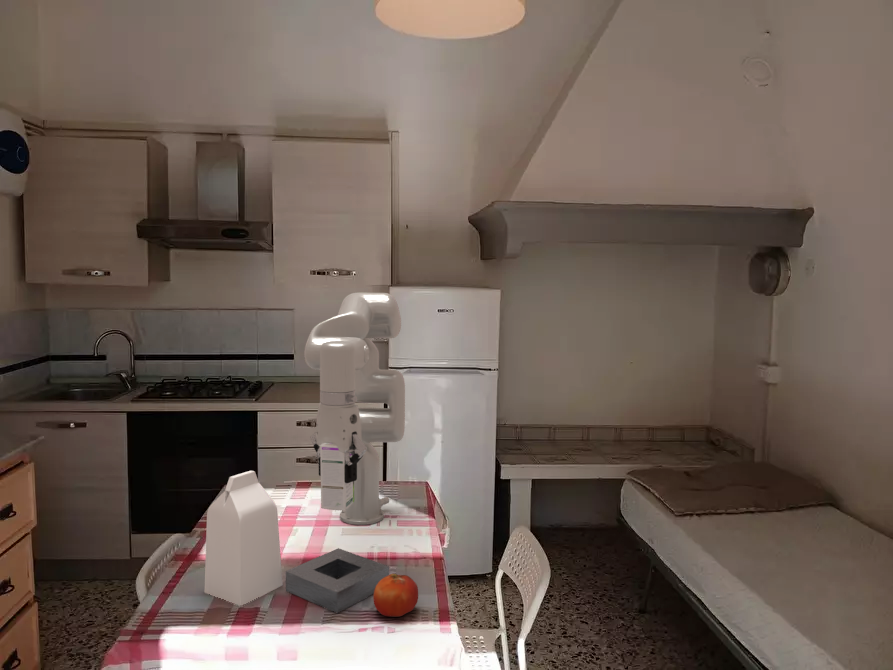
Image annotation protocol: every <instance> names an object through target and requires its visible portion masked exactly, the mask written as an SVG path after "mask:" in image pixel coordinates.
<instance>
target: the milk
mask: <svg viewBox="0 0 893 670" xmlns="http://www.w3.org/2000/svg"><path fill="white" fill-rule="evenodd" d="M278 516H279V515H278V506H277V504H276V502H275V501H274V499H273V498H272V497H271V496H270V494H269V492H267V490H266V489H265V488H264V486H262V484H261V483H260V482H259V479H258V477H257V474H256V471H254V470H249V471H245V472H242V473H238V474H235V475H232V476H229V477H228V481H227V484H226V486H225V490H224V492H222V493H221V494H220V495H219V496H218V497H217V498H216V499H215V500H214V501H213V503H212V504H211V505H210V506H209V507H208V509H207V512H206V530H205V531H206V535H205V566H204V592H203V593H204V594H206V595H209V594H210V596H212V597H214V596H215V598H217V597H218V598H217V599H219V598H221V599H220V600H222V599H224V600H226V601H225V602H227V601H229V602H232V603H235V604H238V605H243V604H246V603H248V602H249V603H251V602H253V601H255V600H257V599H259V598H261V597H263V596H265V595H266V594H267V595H268V593H270V592H272V591H275V590H276V589H279V588H280V587H282V586H283V585H284V584H283V571H282V558H281V557H282V555H281V545H280V543H281V542H280V541H281V540H280V527H279V517H278ZM258 597H259V598H258ZM256 598H257V599H256ZM254 599H255V600H254ZM224 600H223V601H224ZM252 600H253V601H252ZM250 601H251V602H250ZM229 602H228V603H229ZM232 603H231V604H232ZM249 603H248V604H249ZM235 604H234V605H235ZM246 605H247V604H246Z"/></svg>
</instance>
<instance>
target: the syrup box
mask: <svg viewBox="0 0 893 670" xmlns="http://www.w3.org/2000/svg"><path fill="white" fill-rule="evenodd" d="M349 449H350V447H349ZM349 454H350V457H352V454H351V453H349ZM320 461H321V476H320V505H321V506H320V507H321V509H324V510H329V511H330V510H331V511H340V512H341V511H346V509H347V508H348V507H349V506H350V505H351V504H352V503H354V481H353V482H350V483H345V481H344V480H345V465H346V464H347V463H346V460H345V453H343V452H340V451H339V449H338V447H337V446H336V444H332V443H323V444H321V445H320Z"/></svg>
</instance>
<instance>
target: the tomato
mask: <svg viewBox="0 0 893 670" xmlns="http://www.w3.org/2000/svg"><path fill="white" fill-rule="evenodd" d="M372 596H373V597H372V599H373V604H374V608H375V609H376V610H377V611H378V612H379V614H381V615H382V616H385V617H391V618H392V617H393V618H397V617H402V616H404V615H405V614H408V613H410V612H412V611H413V610H414V608H415V607H416V606H417V603H418V601H419V587H418V584H417V583H416V582H415V581H414V580H413V579H412V577H410V576H409V575H407V574H397V573H389V575H388V576H386V577H384V578H383V579H381V580H380V581H379V582H378V584H377V585H376V587H375V590H374V594H372Z"/></svg>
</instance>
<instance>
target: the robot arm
mask: <svg viewBox="0 0 893 670" xmlns="http://www.w3.org/2000/svg"><path fill="white" fill-rule="evenodd" d="M401 327H402V318H401V313H400V309H399V305H398V302H397V300H396V298H395V297H394V296H393V295H392V294H390V293H387V292H365V291H364V292H361V291H360V292H352V293H350V294H348V295H346V296H345V297H344V298H343V300H342V302H341V304H340V307H339V310H338V313H337V315H335V316H332V317H331V318H327V319H326V320H323V321H321V322H319V323H318V324H316V325H315V326H314V327H313V328H311V331H310V333H309V335H308V337H307V341H306V343H305V345H304V346H305V347H304V361H305V364H306V365H307V367H309V368H311V369H312V370H316V371H317V370H319V403H318V408H317V414H316V425H315V426H316V427H315V432H314V433H312V434H311V435H310V438H309V440H310V441H311V444H312V445H313V449H314V451H315V452H316V458H318V476H319V477H321V461H320V445H321V444H323V443H332V444H336V446H337V447H338V449H339V451H340V452H343V453H345V460H346V463H347V464H346V465H345V480H344V481H345V483H350V482H353V481H354V503H352V504H351V505H350V506H349V507H348V508H347V509H346V511H340V512H339V519H340V520H341V522H344V523H345V524H349V525H353V526H354V525H357V526H359V525H362V526H363V525H372V524H376V523H378V522H380V520H381V521H382V520H383V519H384V518H385V512H384V510H383V509H382V507H383V506H384V505H387V504H389V503H390V498H389V497H388V496H385V497H382V498H380V455H379V453H378V451H377V450H376V448H375V447H374V446H373V444H372V443H398V442H400V441H402V440H403V438H404V435H405V428H406V427H405V424H406V418H405V417H406V385H405V384H406V383H405V378H404V375H403V374H402V372H401V371H399V370H396V369H381V368H380V352H379V349H378V347H377V345H375V343H374V342H373V341H372V339H394V338H396V337H398V336H399V334H400V332H401V330H402V329H401ZM356 403H363V404H386V405H387V406H388V407H387V408H385V407H384V408H383V407H359V406H358V405H357V404H356ZM349 447H350V449H349ZM349 453H351V454H352V457H350V454H349Z"/></svg>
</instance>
